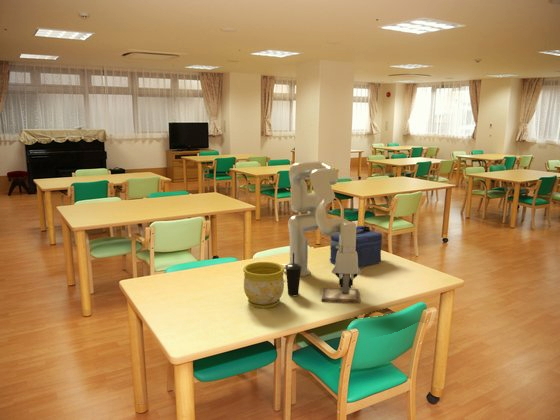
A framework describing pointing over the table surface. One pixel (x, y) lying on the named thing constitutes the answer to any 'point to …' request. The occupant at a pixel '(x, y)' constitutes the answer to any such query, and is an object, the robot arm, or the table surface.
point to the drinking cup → (293, 277)
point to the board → (340, 295)
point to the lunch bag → (362, 246)
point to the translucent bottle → (345, 283)
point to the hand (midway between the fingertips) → (345, 286)
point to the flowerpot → (263, 283)
